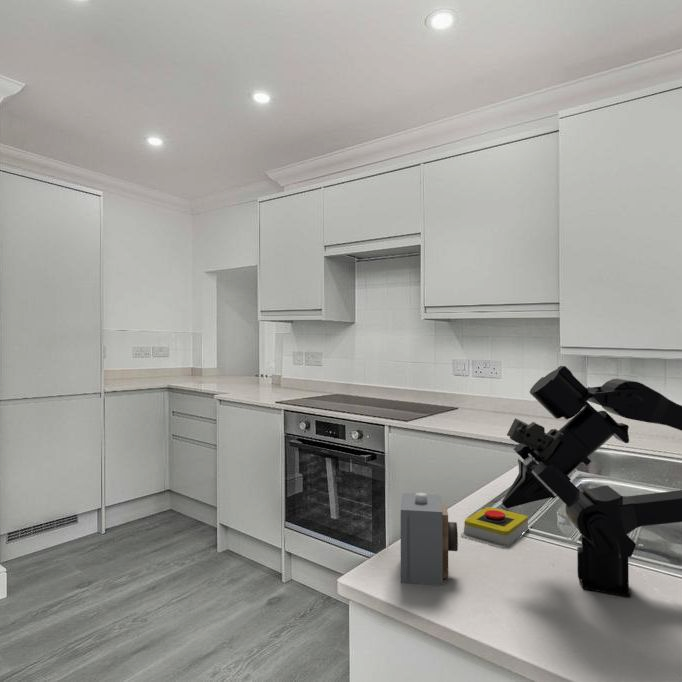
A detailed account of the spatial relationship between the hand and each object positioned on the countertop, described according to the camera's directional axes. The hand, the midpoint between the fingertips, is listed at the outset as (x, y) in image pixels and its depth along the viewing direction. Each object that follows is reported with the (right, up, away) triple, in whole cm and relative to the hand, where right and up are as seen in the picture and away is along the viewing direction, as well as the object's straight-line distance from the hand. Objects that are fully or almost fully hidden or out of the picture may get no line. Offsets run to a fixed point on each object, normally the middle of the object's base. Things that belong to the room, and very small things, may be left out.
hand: (504, 505), depth 77 cm
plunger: (-11, -11, +2) cm, 16 cm away
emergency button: (+5, -12, +19) cm, 23 cm away
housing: (-13, -12, +2) cm, 18 cm away
